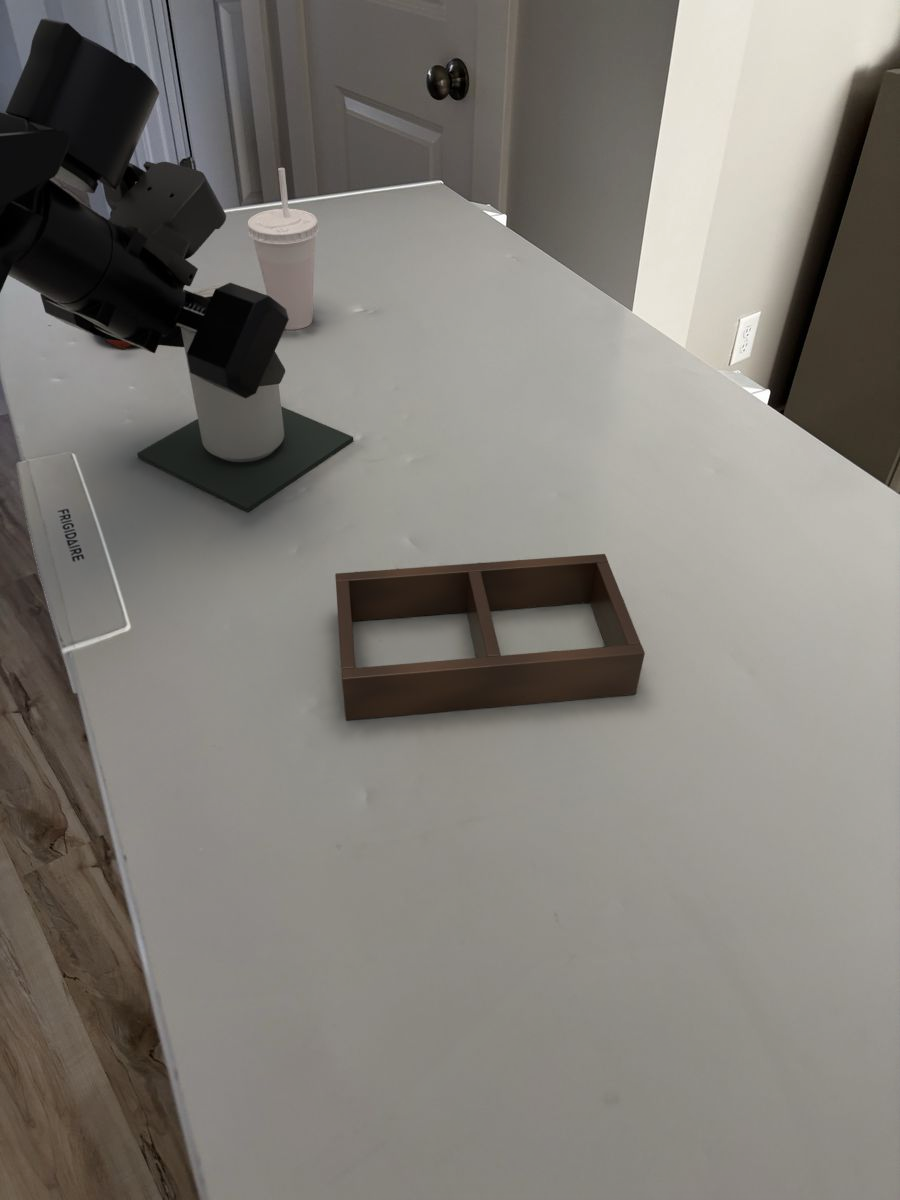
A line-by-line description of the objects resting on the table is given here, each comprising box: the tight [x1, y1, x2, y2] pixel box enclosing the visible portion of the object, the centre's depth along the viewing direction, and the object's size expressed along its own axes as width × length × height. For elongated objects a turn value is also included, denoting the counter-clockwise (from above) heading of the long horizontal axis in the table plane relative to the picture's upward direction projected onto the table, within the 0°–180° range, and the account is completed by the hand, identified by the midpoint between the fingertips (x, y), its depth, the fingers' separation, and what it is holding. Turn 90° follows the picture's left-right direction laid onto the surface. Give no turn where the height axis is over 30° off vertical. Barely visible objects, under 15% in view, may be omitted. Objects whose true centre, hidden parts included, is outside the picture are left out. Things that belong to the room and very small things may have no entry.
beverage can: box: [181, 284, 284, 462], centre depth 69 cm, size 6×6×12 cm
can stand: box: [334, 553, 646, 721], centre depth 56 cm, size 17×9×4 cm, turn 97°
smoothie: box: [247, 167, 320, 331], centre depth 86 cm, size 6×6×14 cm
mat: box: [136, 405, 354, 513], centre depth 74 cm, size 12×12×1 cm
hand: (235, 358), depth 69 cm, fingers open, 9 cm apart
